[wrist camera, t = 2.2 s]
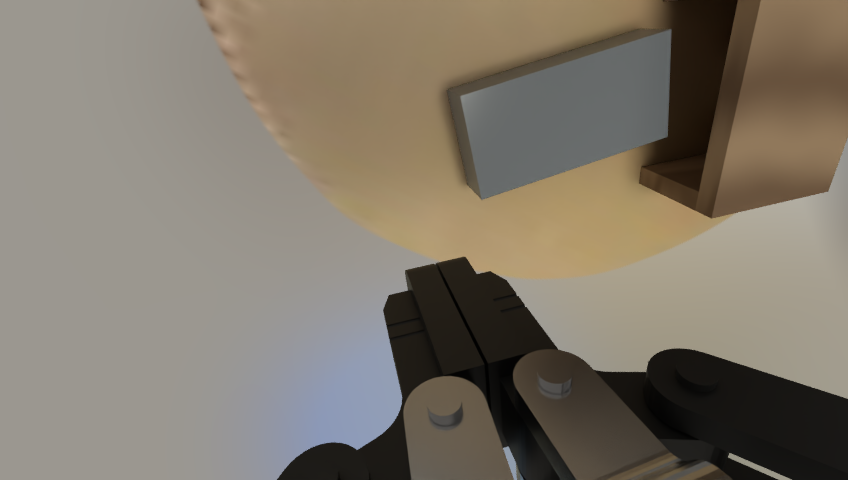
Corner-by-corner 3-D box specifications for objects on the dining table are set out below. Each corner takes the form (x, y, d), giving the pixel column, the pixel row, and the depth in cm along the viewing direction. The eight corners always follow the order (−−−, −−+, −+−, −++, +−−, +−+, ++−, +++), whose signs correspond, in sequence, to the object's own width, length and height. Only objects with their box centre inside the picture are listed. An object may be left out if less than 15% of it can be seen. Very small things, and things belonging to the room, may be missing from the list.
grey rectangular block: (445, 88, 24) (460, 96, 21) (634, 28, 25) (671, 28, 22) (465, 183, 27) (481, 199, 24) (634, 126, 28) (667, 136, 25)
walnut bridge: (738, 162, 30) (828, 191, 25) (639, 183, 29) (711, 218, 24) (787, -40, 25) (918, -59, 19) (666, -23, 23) (769, -39, 18)
